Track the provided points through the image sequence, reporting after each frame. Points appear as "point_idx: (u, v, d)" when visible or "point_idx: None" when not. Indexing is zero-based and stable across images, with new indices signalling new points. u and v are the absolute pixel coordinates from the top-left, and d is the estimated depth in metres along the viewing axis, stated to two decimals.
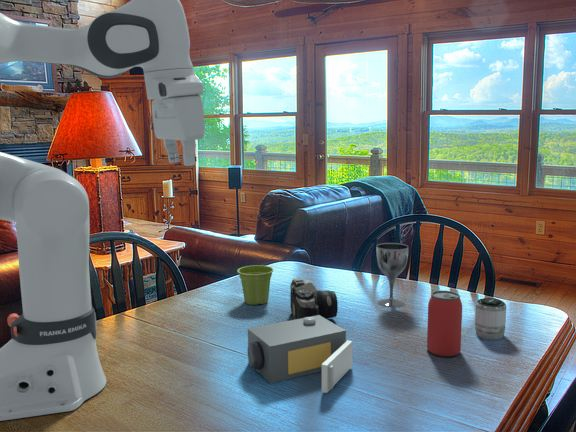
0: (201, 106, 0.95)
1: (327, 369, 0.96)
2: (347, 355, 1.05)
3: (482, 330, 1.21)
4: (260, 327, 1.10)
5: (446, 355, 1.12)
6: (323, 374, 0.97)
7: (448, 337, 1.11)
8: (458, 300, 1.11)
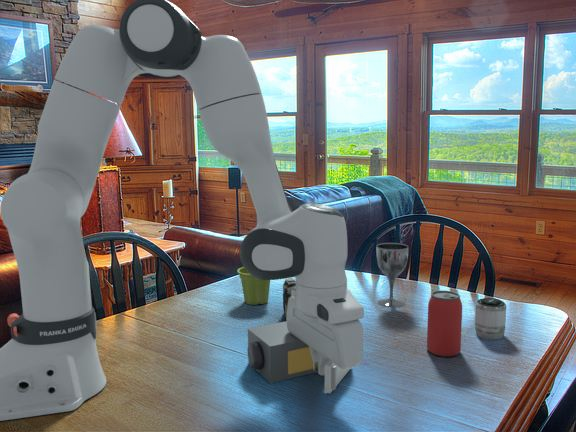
0: (361, 334, 0.91)
1: (330, 370, 0.96)
2: None
3: (482, 330, 1.21)
4: (260, 327, 1.10)
5: (446, 355, 1.12)
6: (326, 375, 0.96)
7: (448, 337, 1.11)
8: (458, 300, 1.11)
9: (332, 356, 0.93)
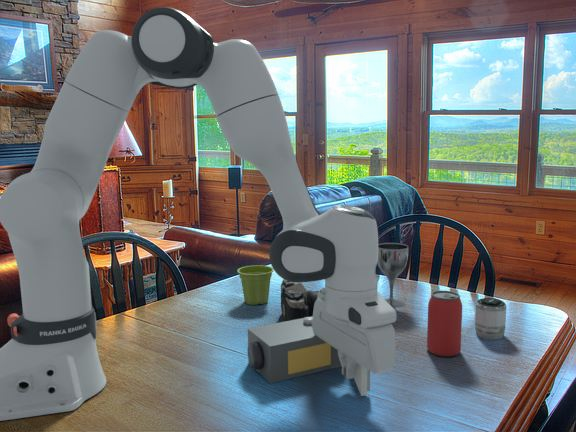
0: (394, 338, 0.90)
1: (366, 371, 0.95)
2: None
3: (482, 330, 1.21)
4: (260, 327, 1.10)
5: (446, 355, 1.12)
6: (363, 377, 0.95)
7: (448, 337, 1.11)
8: (458, 300, 1.11)
9: (363, 360, 0.91)
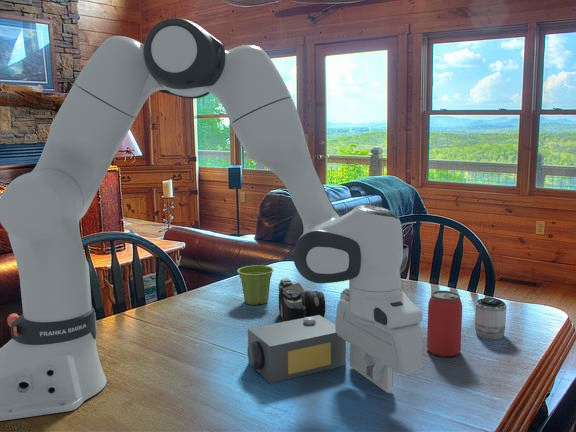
0: (420, 338, 0.89)
1: (391, 368, 0.97)
2: None
3: (482, 330, 1.21)
4: (260, 327, 1.10)
5: (446, 355, 1.12)
6: (389, 374, 0.96)
7: (448, 337, 1.11)
8: (458, 300, 1.11)
9: (389, 361, 0.91)
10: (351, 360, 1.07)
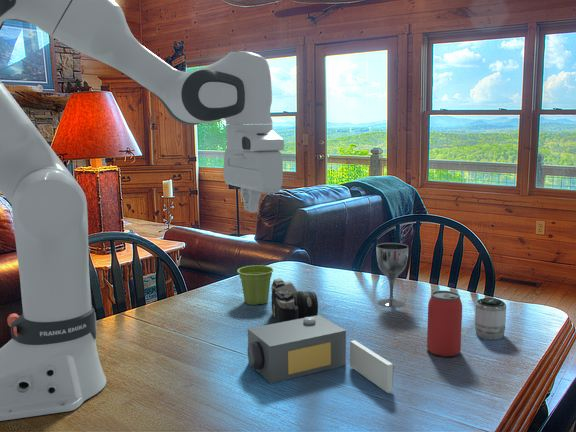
0: (281, 162, 1.01)
1: None
2: None
3: (482, 330, 1.21)
4: (260, 327, 1.10)
5: (446, 355, 1.12)
6: (389, 374, 0.96)
7: (448, 337, 1.11)
8: (458, 300, 1.11)
9: (256, 184, 1.03)
10: (351, 360, 1.07)
